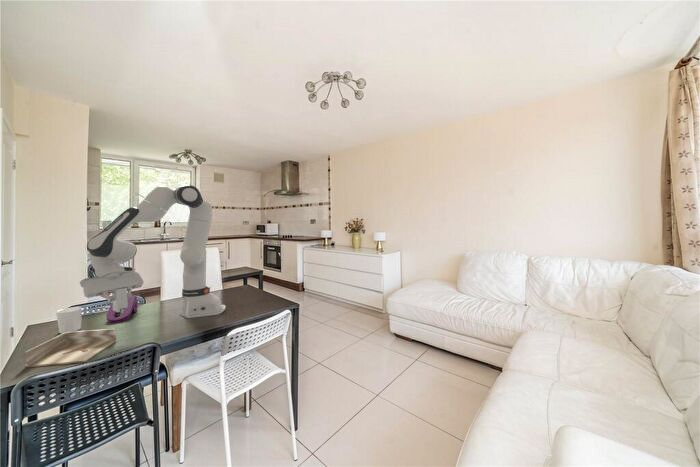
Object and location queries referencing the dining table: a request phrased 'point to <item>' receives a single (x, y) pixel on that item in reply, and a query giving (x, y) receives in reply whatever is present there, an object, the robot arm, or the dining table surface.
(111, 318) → the mounting bracket
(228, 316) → the dining table surface
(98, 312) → the pliers
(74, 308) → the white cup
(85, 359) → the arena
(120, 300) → the angle bracket
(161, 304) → the dining table surface
